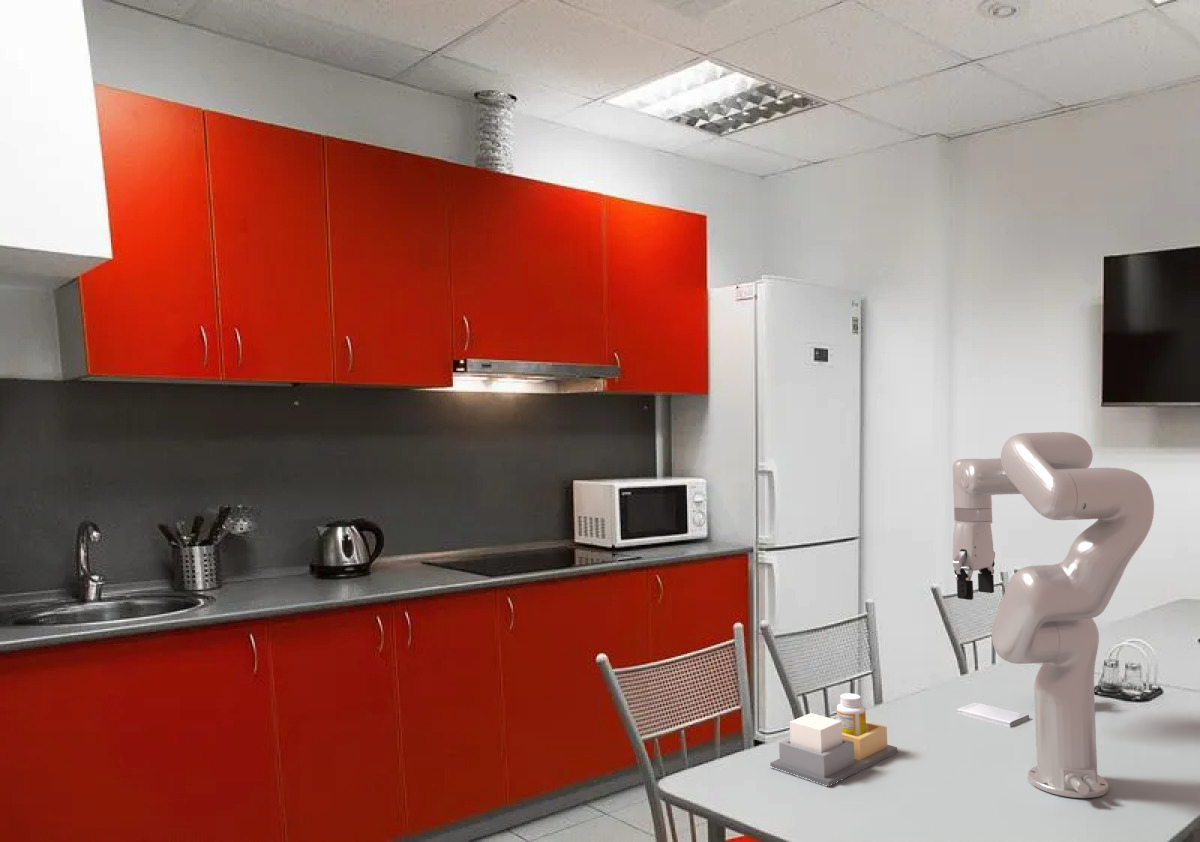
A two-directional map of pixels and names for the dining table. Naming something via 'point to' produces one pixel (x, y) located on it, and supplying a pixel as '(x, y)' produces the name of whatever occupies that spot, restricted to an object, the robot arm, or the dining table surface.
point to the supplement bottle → (851, 714)
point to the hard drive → (992, 714)
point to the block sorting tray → (830, 749)
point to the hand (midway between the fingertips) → (976, 595)
